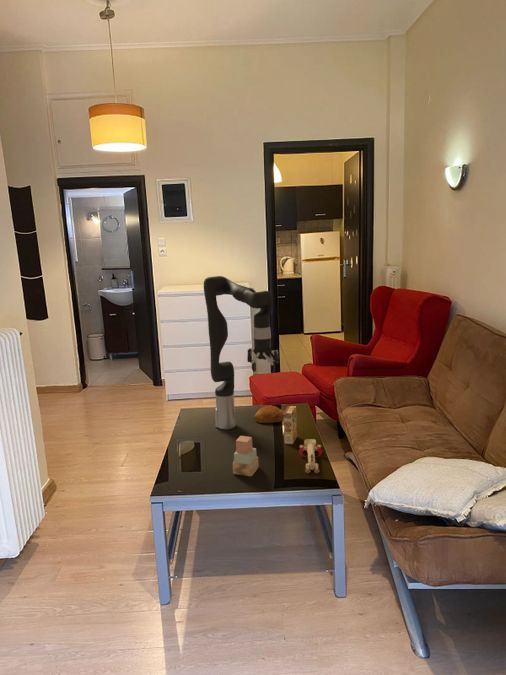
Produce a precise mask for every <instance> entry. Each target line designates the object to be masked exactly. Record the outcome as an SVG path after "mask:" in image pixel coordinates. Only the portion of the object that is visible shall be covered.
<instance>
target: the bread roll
mask: <svg viewBox="0 0 506 675" xmlns="http://www.w3.org/2000/svg"><path fill="white" fill-rule="evenodd" d="M283 413H284V410H282V409H280V408H279V407H277V406H275V405H267V406H262V407H260V408H259V409H258V411H257V412H256V413H255V414H254V419H255V420H256V422H257V423H261V424H263V423H265V424H269V423H271V424H272V423H279V422H282V421H284V414H283Z"/></svg>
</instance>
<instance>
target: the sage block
mask: <svg viewBox="0 0 506 675" xmlns="http://www.w3.org/2000/svg"><path fill="white" fill-rule="evenodd" d="M257 457H258V456H257V448H255V447H252V450H251V451H250V452H249V453H248V454H246V453H239V452H236V451H235V452H234V453H233V462H234V463H240V464H247V465H251V464H252V462H253V461H254V460H255V459H256V458H257Z"/></svg>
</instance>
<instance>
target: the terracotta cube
mask: <svg viewBox="0 0 506 675" xmlns="http://www.w3.org/2000/svg"><path fill="white" fill-rule="evenodd" d="M252 448H253V437H251V436H248V435H247V436H246V435H239V437H238V438H237V439H236V440H235V452H239V453H246V454H248V453H249V452H250V451H251V450H252Z"/></svg>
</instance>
